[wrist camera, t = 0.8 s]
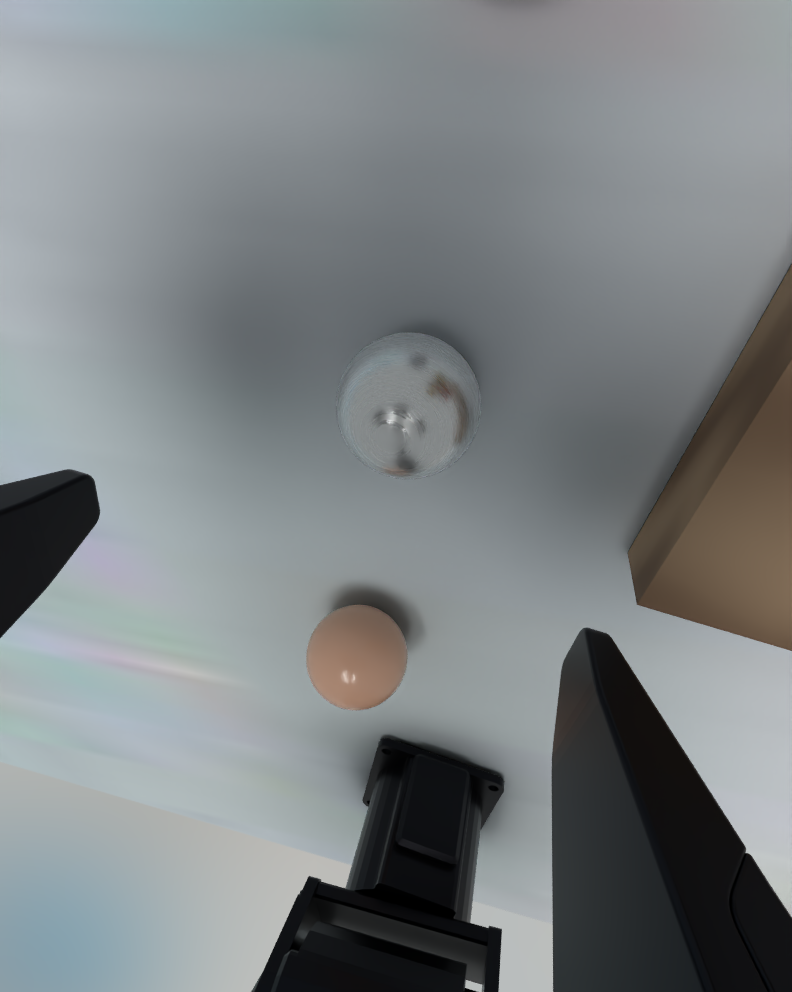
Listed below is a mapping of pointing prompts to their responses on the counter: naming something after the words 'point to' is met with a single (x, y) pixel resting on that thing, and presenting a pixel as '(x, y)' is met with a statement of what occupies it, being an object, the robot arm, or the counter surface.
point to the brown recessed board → (731, 501)
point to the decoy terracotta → (356, 657)
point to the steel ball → (408, 405)
